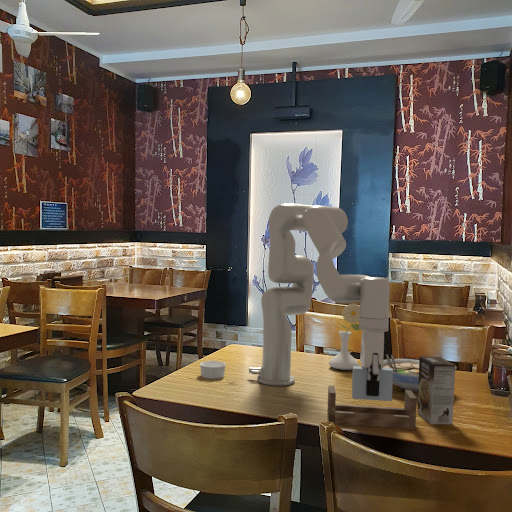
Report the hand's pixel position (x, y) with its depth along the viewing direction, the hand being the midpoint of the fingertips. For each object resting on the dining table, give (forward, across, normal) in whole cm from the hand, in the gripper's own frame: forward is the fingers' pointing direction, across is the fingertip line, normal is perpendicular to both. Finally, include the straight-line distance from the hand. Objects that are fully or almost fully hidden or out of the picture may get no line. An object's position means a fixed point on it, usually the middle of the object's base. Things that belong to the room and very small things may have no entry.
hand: (371, 393), depth 133 cm
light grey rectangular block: (+1, 0, 0) cm, 1 cm away
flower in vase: (+7, -57, -2) cm, 58 cm away
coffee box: (+8, -6, +18) cm, 20 cm away
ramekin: (+7, -36, -49) cm, 62 cm away
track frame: (+8, 0, 0) cm, 8 cm away
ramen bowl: (+8, -35, +18) cm, 40 cm away
